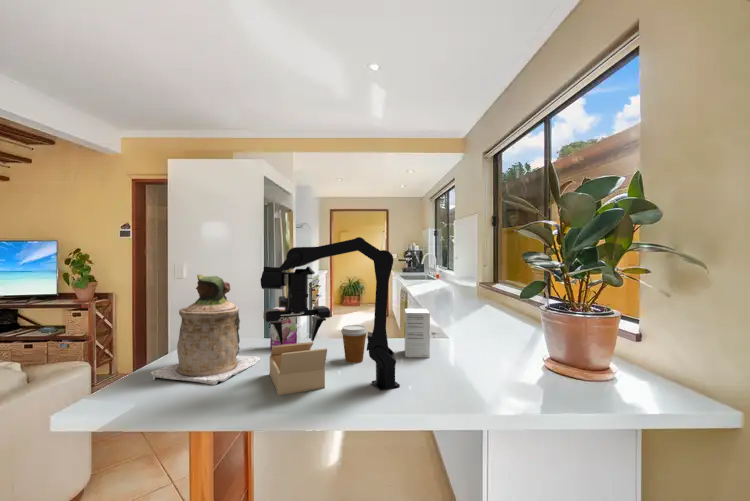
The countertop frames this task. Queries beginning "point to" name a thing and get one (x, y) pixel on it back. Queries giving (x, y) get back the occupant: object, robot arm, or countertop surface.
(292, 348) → the far flap
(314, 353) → the near flap
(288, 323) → the candy bar box
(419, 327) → the supplement box
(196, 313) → the cookie jar
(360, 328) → the disposable coffee cup
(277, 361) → the carton
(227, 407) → the countertop surface
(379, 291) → the robot arm
